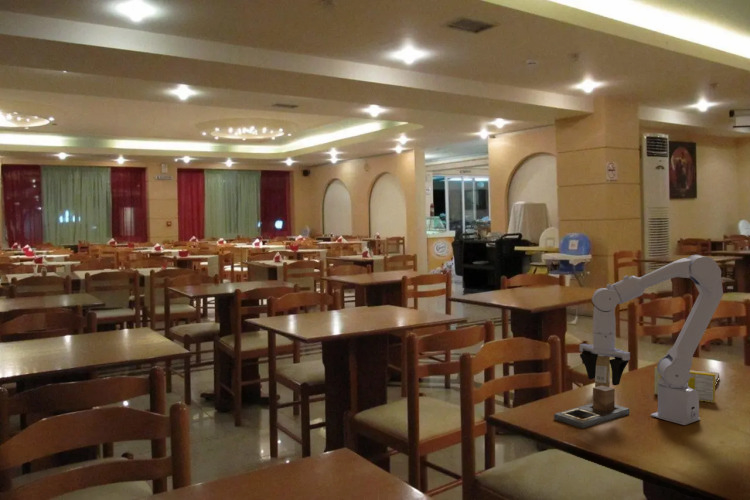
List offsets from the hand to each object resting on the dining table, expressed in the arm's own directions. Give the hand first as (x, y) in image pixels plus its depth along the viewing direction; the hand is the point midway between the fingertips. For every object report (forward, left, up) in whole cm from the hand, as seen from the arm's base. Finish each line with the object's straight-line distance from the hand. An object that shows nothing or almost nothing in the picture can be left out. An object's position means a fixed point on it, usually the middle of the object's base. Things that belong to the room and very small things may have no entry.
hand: (603, 381), depth 166 cm
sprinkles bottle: (+13, -18, -9) cm, 24 cm away
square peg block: (0, 0, -9) cm, 9 cm away
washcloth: (+2, -52, -10) cm, 52 cm away
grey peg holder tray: (0, +5, -9) cm, 10 cm away
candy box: (-5, -32, -9) cm, 33 cm away
